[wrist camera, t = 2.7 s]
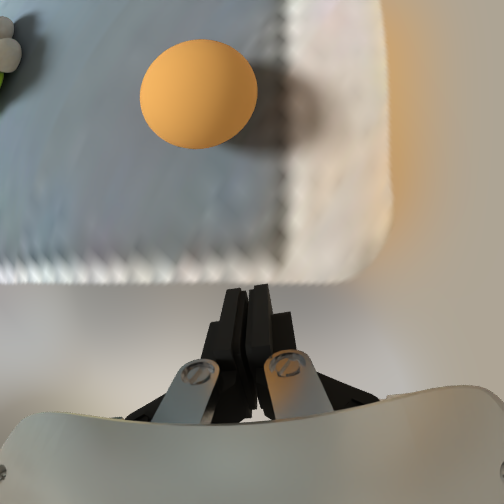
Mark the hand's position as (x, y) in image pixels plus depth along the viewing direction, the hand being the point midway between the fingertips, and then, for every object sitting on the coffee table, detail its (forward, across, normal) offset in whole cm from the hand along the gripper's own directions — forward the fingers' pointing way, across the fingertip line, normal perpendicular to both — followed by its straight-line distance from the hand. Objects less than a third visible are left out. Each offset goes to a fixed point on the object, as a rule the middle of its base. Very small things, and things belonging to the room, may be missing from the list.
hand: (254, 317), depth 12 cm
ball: (+5, +1, -10) cm, 11 cm away
